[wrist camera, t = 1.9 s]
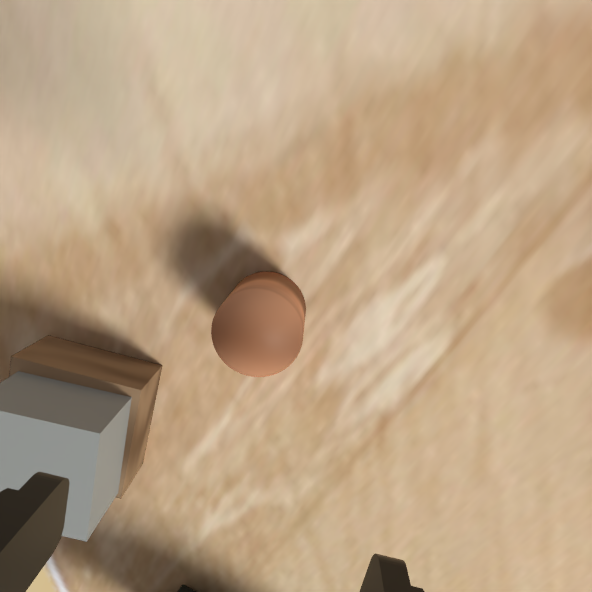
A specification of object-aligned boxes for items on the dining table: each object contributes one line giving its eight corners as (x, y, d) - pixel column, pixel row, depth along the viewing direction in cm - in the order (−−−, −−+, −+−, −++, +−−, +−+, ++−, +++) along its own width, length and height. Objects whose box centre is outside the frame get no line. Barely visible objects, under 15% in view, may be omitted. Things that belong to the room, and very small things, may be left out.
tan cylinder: (239, 262, 28) (222, 278, 23) (314, 283, 28) (313, 303, 23) (221, 333, 30) (202, 363, 25) (294, 353, 30) (289, 386, 25)
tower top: (18, 371, 27) (-33, 403, 23) (131, 397, 27) (100, 433, 23) (11, 468, 29) (-37, 514, 25) (117, 492, 29) (86, 541, 25)
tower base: (50, 334, 30) (11, 356, 27) (163, 363, 31) (141, 390, 27) (38, 433, 32) (0, 467, 29) (144, 461, 33) (120, 498, 29)
